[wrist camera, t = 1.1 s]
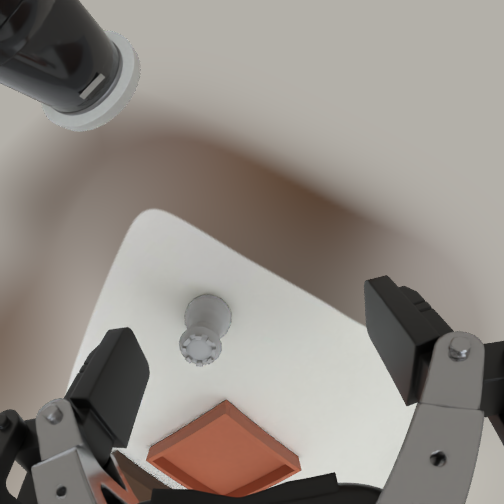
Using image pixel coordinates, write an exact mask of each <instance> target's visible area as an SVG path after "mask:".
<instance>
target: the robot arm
mask: <svg viewBox="0 0 504 504" xmlns="http://www.w3.org/2000/svg"><path fill="white" fill-rule="evenodd" d="M122 67H123V59H122V54H121V52H120V50H119V48H118V47H117V45H116V44H115V43H114V42H113V41H111V40H110V38H109V37H108V36H107V35H106V33H105V32H104V31H103V29H102V28H101V27H100V26H99V25H98V23H97V22H96V21H95V20H94V18H93V17H92V16H91V15H90V14H89V12H88V11H87V10H86V9H85V7H84V6H83V5H82V4H81V3H80V1H79V0H0V83H1V84H3V85H5V86H7V87H9V88H12V89H14V90H16V91H18V92H20V93H22V94H24V95H27V96H29V97H31V98H33V99H35V100H37V101H39V102H41V103H43V104H45V105H47V106H49V107H51V108H53V109H54V110H56V111H57V112H59V113H61V114H64V115H69V116H74V115H80V114H83V113H86V112H88V111H90V110H92V109H94V108H95V107H97V106H98V105H100V104H101V103H102V102H103V101H104V100H105V99H106V98H107V97H108V96H109V95H110V94H111V92H112V91H113V89H114V88H115V86H116V85H117V83H118V81H119V78H120V76H121V72H122ZM364 293H365V315H366V326H367V331H368V334H369V337H370V339H371V341H372V342H373V344H374V346H375V348H376V350H377V351H378V353H379V355H380V357H381V359H382V360H383V362H384V364H385V366H386V368H387V370H388V372H389V373H390V375H391V377H392V379H393V381H394V383H395V385H396V387H397V389H398V390H399V392H400V394H401V396H402V398H403V400H404V402H405V404H406V406H409V405H412V404H414V403H417V402H418V403H417V406H416V409H415V412H414V415H413V418H412V420H411V423H410V426H409V429H408V432H407V434H406V437H405V439H404V442H403V445H402V447H401V450H400V452H399V455H398V457H397V459H396V462H395V464H394V466H393V469H392V471H391V473H390V475H389V477H388V480H387V482H386V484H385V486H384V488H383V489H381V488H378V487H374V486H370V485H365V484H358V483H337V478H336V474H335V472H334V473H329V474H325V475H320V476H316V477H311V478H306V479H300V480H294V481H288V482H285V483H283V484H280V485H277V486H274V487H271V488H268V489H266V490H263V491H259V492H256V493H253V494H250V495H247V496H243V497H230V496H224V495H218V494H213V493H208V492H203V491H198V490H193V489H155V488H153V490H152V495H151V500H147V501H143V502H139V500H138V499H137V498H136V496H135V495H134V493H133V491H132V490H131V488H130V486H129V484H128V482H127V480H126V479H125V477H124V475H123V473H122V471H121V469H120V467H119V465H118V463H117V461H116V459H115V457H114V456H113V455H112V454H111V450H112V447H117V448H127V445H128V441H129V438H130V435H131V432H132V429H133V425H134V422H135V419H136V416H137V413H138V410H139V407H140V403H141V400H142V397H143V394H144V391H145V388H146V385H147V382H148V379H149V374H150V372H149V365H148V362H147V360H146V358H145V356H144V354H143V352H142V350H141V348H140V346H139V344H138V341H137V339H136V337H135V335H134V333H133V331H132V330H131V329H130V328H128V327H125V328H119V329H111V330H108V332H107V333H106V335H105V336H104V338H103V340H102V341H101V343H100V345H98V346H97V347H96V348H95V349H94V350H93V351H92V352H91V353H90V354H89V356H88V357H87V359H86V361H85V362H84V365H83V366H82V367H81V369H80V371H79V372H80V373H78V374H77V376H76V378H75V379H74V381H73V383H72V385H71V386H70V388H69V390H68V392H67V393H66V395H65V397H64V399H62V398H59V399H54V400H52V401H50V402H48V403H46V404H45V405H44V406H43V407H42V408H41V409H40V410H39V412H38V414H37V416H36V418H35V419H30V420H25V421H24V420H23V419H22V418H21V417H20V416H19V414H18V413H17V412H16V411H15V410H6V411H3V412H1V413H0V504H465V502H466V499H467V496H468V492H469V489H470V485H471V481H472V477H473V473H474V469H475V465H476V461H477V456H478V451H479V446H480V441H481V435H482V429H483V422H484V417H488V418H489V420H490V422H491V423H492V425H493V427H494V429H495V431H496V432H497V434H498V436H499V438H500V440H501V441H502V443H503V445H504V341H500V342H494V343H487V344H483V343H482V342H481V340H480V339H479V338H478V337H476V336H475V335H473V334H470V333H467V332H458V331H457V332H454V331H453V330H452V329H451V328H450V327H449V326H448V325H447V323H446V322H445V321H444V320H443V319H442V318H441V317H440V316H439V315H438V313H437V312H435V310H434V309H432V308H431V306H430V305H429V304H428V303H427V302H425V300H424V299H423V298H422V297H421V296H420V295H419V293H418V292H417V291H414V290H412V289H410V288H408V287H406V286H402V287H398V286H397V285H396V284H395V283H394V282H393V281H392V280H391V279H390V278H389V277H388V276H387V275H386V276H382V277H378V278H374V279H370V280H366V281H365V284H364ZM15 460H16V461H17V462H18V463H19V464H20V465H21V466H22V467H23V468H24V469H25V470H26V471H27V474H26V476H25V479H24V481H23V484H22V487H21V489H20V492H19V495H18V498H17V499H16V498H15V497H13V496H12V495H11V494H10V493H9V492H8V490H7V487H6V479H7V477H8V474H9V472H10V470H11V467H12V465H13V463H14V461H15Z"/></svg>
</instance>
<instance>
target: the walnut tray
mask: <svg viewBox="0 0 504 504" xmlns="http://www.w3.org/2000/svg"><path fill="white" fill-rule="evenodd" d="M112 455H113V456H114V457H115V459H116V461H117V463H118V465H119V467H120V469H121V471H122V473H123V475H124V477H125V479H126V480H127V482H128V484H129V486H130V488H131V490H132V491H133V493H134V495H135V496H136V498H137V499H138V500H139V502H143V501H147V500H151V495H152V490H153V488H155V489H171V488H169V487H168V486H166V485H165V484H163V483H162V482H160V481H159V480H157V479H156V478H154V477H153V476H151V475H150V474H148V473H147V472H146V471H144V470H143V469H141V468H140V467H139V466H137V465H136V464H135V463H133V462H132V461H131V460H129V459H128V458H127V457H125V456H124V455H123V454H121V453H120V452H119V451H118V450H117V451H115V452H114V453H112Z"/></svg>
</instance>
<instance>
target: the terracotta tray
mask: <svg viewBox="0 0 504 504" xmlns="http://www.w3.org/2000/svg"><path fill="white" fill-rule="evenodd" d="M146 461H148V462H149V463H150V464H152V465H153V466H154V467H156V468H157V469H159V470H160V471H162V472H163V473H164V474H166V475H167V476H169V477H170V478H172V479H173V480H175V481H176V482H178V483H179V484H181V485H183V486H184V487H186V488H187V489H193V490H198V491H203V492H208V493H213V494H218V495H224V496H230V497H243V496H247V495H250V494H253V493H256V492H259V491H263V490H265V489H267V488H269V487H271V486H273V485H275V484H277V483H279V482H281V481H283V480H285V479H286V478H288V477H290V476H292V475H294V474H296V473H297V472H299V471H301V466H300V462H299V458H298V456H296V455H295V454H294V453H292V452H291V451H290V450H288V449H287V448H286V447H284V446H283V445H282V444H280V443H279V442H278V441H276V440H275V439H274V438H272V437H271V436H270V435H269V434H267V433H266V432H265V431H263V430H262V429H261V428H260V427H258V426H257V425H256V424H255V423H254V422H252V421H251V420H250V419H249V418H247V417H246V416H245V415H244V414H243V413H241V412H240V411H239V410H238V409H237V408H235V407H234V406H233V405H232V404H231V403H230V402H228V401H227V400H225V401H224V402H222V403H221V404H219V405H218V406H216V407H215V408H213V409H212V410H210V411H209V412H207V413H206V414H204V415H202V416H201V417H199V418H198V419H196V420H195V421H193V422H192V423H190V424H188V425H187V426H185V427H184V428H182V429H180V430H179V431H177V432H175V433H174V434H172V435H170V436H169V437H167V438H165V439H164V440H162V441H160V442H159V443H157V444H155V445H153V446H152V447H150V450H149V453H148V456H147V459H146Z"/></svg>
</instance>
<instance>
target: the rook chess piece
mask: <svg viewBox="0 0 504 504" xmlns="http://www.w3.org/2000/svg"><path fill="white" fill-rule="evenodd" d="M230 324H231V311H230V309H229V307H228V305H227V304H226V303H225V302H224V301H223V300H222V299H221V298H218V297H216V296H213V295H202V296H199V297H197V298H195V299H193V300H192V301H191V302H190V303H189V305H188V307H187V309H186V312H185V325H186V327H187V330H186V331H185V332H184V333H183V334H182V336H181V338H180V341H179V347H180V351H181V353H182V354H183V356H184V357H185V360H186V361H188V362H189V363H191V362H192V363H195V364H196V366H203V365H206V364H210V363H212V362H214V361H215V360H216V359H217V358H218V357H219V355H220V353H221V351H222V343H221V341H220V339H221V338H222V337H223V336H224V335H225V334H226V333H227V332H228V329H229V327H230Z"/></svg>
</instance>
